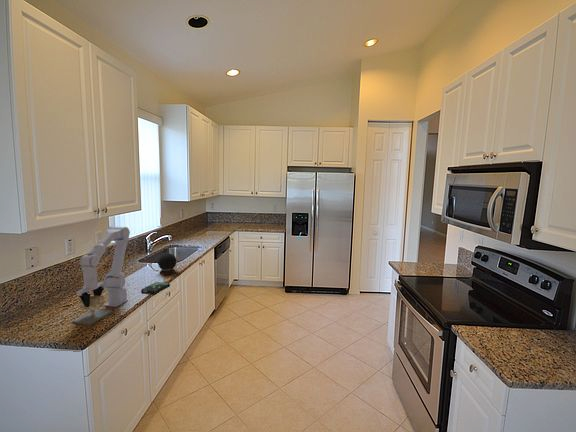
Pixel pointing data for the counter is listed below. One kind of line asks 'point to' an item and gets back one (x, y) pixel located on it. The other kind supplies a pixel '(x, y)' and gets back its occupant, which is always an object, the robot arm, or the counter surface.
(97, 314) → the pin board
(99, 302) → the hollow block
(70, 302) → the counter surface
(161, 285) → the disk drive
